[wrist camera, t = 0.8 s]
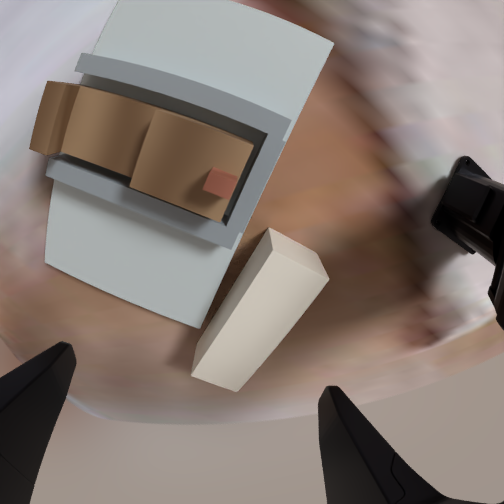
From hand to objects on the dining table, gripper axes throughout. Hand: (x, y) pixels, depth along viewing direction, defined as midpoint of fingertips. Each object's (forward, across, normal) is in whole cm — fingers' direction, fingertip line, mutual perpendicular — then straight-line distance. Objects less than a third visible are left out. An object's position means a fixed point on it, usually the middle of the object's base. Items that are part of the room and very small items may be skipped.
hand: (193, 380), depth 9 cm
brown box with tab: (+11, +6, -6) cm, 14 cm away
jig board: (+12, +5, -5) cm, 14 cm away
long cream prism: (+13, -3, +5) cm, 14 cm away
